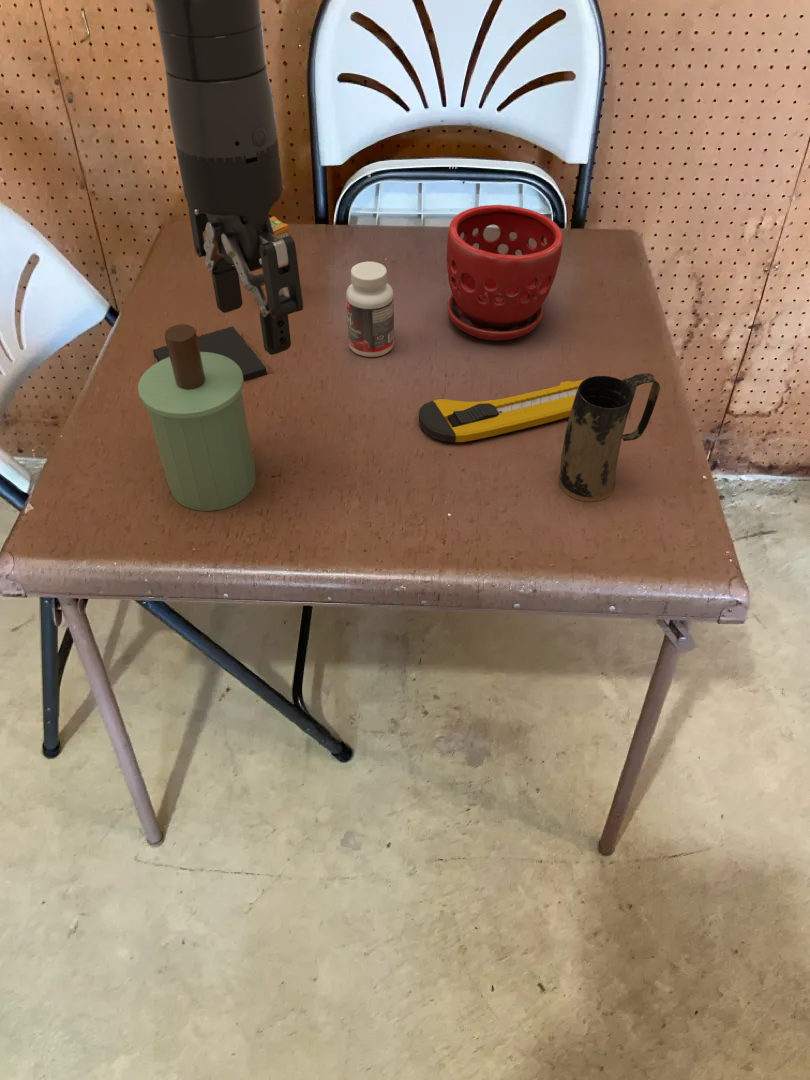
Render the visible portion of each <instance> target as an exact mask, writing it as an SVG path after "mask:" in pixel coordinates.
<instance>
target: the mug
mask: <svg viewBox="0 0 810 1080" xmlns="http://www.w3.org/2000/svg"><path fill="white" fill-rule="evenodd" d="M584 379H585V380H584ZM584 379H583V380H584V381H582V382H581V383H580V385H579V387H578V390H577V393H576V396H575V399H574V402H573V405H572V408H571V412H570V416H569V417H568V421H567V425H566V428H565V432H564V438H563V444H562V450H561V455H560V464H559V465H560V466H559V468H560V469H559V476H558V484H559V487H560V489H561V491H562V492H563V493H565V494H566V495H568V496H569V497H571V498H572V499H575V500H578V501H581V502H588V503H589V502H590V503H593V502H600V501H603V500H605V499H607V498H609V497H610V496H611V495H612V494H613V493H614V490H615V487H616V477H617V467H618V462H619V461H618V460H619V457H620V456H619V455H620V449H621V444H622V441H623V442H629V441H635V440H637V439H639V438H640V437H642V436H643V434H644V432H645V430H646V429H647V427H648V426H649V423H650V420H651V417H652V416H653V412H654V410H655V406H656V404H657V401H658V397H659V394H660V391H661V386H660V383H659V382H658V381H657V380H656V379H655V376H654V375H653V374H652V373H650V372H646V373H645V372H644V373H639V374H635V375H633V376H631V377H627V378H624V379H619V378H618V377H615V376H609V375H604V376H601V375H594V376H589V377H587V378H584ZM649 383H650V384H651V383H652V384H651V387H650V390H649V394H648V397H647V400H646V404H645V407H644V410H643V413H642V416H641V418H640V421H639V422H638V424H637V426H636V429H635V430H634V431H632V432H631V433H625V432H624V431H625V428H626V423H627V420H628V416H629V413H630V411H631V407H632V404H633V401H634V398H635V395H636V390H637V387H639V386H641V385H644V384H649Z"/></svg>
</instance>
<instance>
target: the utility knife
mask: <svg viewBox="0 0 810 1080" xmlns="http://www.w3.org/2000/svg"><path fill="white" fill-rule="evenodd" d="M600 376H605V375H604V374H602V375H600ZM585 379H586V378H583V379H580V380H575V381H572V380H564V381H561V382H560V383H559V384H558V385H555V386H550V387H546V388H544V389H539V390H534V391H531V392H526V393H522V394H518V395H517V394H516V395H512V396H508V397H504V398H498V399H497V398H496V399H489V400H482V401H469V400H468V401H467V400H466V401H465V400H464V401H463V400H454V399H445V398H437V399H433V400H431V401H429V402H426V403H424V404H423V405H422V406H421V407H420V408H419V410H418V423H419V425H420V427H421V428H422V430H423V431H424V432H425V433H426V435H428V436H430V437H432V438H434V439H436V440H439V441H442V442H446V443H447V442H448V443H449V442H450V443H465V442H471V441H476V440H481V439H485V438H490V437H495V436H499V435H503V434H508V433H511V432H516V431H519V430H525V429H528V428H533V427H536V426H539V425H543V424H547V423H551V422H555V421H558V420H563V419H566V418H569V416H570V412H571V408H572V405H573V402H574V399H575V396H576V393H577V390H578V387H579V385H580V383H581V382H582V381H584V380H585Z"/></svg>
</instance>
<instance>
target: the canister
mask: <svg viewBox="0 0 810 1080" xmlns="http://www.w3.org/2000/svg"><path fill="white" fill-rule="evenodd" d="M146 411H147V413H148V418H149V421H150V425H151V428H152V432H153V435H154V439H155V442H156V446H157V450H158V453H159V457H160V461H161V464H162V468H163V471H164V472H163V473H164V475H165V480H166V482H167V486H168V489H169V491H170V494H171V496H172V497H173V499H174V500H175V501H176V502H177V503H178V504H180V505H181V506H183V507H185V508H187V509H190V510H193V511H199V512H214V511H220V510H224V509H226V508H230V507H232V506H234V505H236V504H238V503H240V502H242V501H243V500H244V499H246V497H248V496H249V494H250V493H251V492H252V491H253V489H254V487H255V484H256V477H257V476H256V468H255V467H256V465H255V461H254V455H253V450H252V449H253V448H252V444H251V437H250V431H249V426H248V420H247V413H246V408H245V402H244V397H243V390H242V391H241V393H240V395H239V396H238V397H237V399H236V400H235V401H234V402H232V403H231V404H230V405H228V406H227V407H225V408H224V409H222V410H220V411H217V412H215V413H212V414H209V415H206V416H202V417H196V418H185V419H181V418H170V417H165V416H162V415H159V414H156V413H154V412H152V411H151V410H149V409H148V408H147V407H146Z"/></svg>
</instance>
